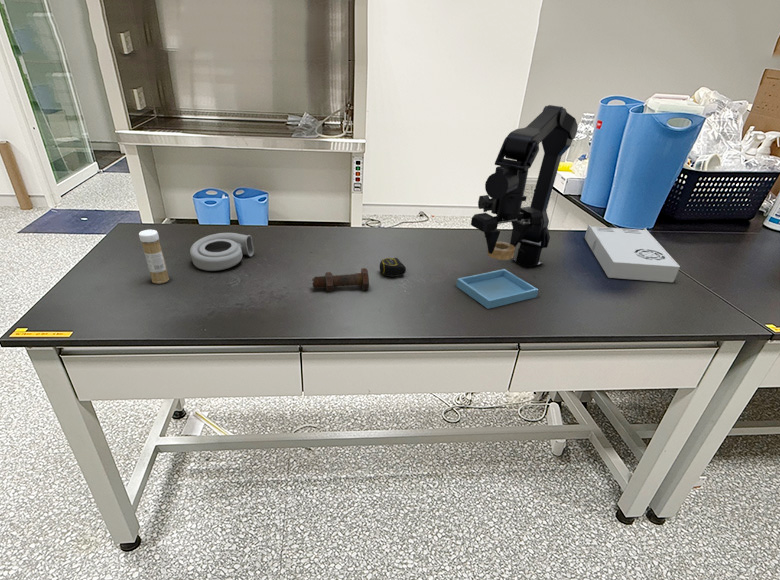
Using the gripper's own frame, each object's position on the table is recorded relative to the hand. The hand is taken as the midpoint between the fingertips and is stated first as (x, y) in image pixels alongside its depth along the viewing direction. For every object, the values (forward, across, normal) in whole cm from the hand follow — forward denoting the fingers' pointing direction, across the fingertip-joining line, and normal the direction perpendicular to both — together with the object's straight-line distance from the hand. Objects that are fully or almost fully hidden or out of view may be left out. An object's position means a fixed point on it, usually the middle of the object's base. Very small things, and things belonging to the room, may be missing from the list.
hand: (501, 251), depth 133 cm
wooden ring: (+1, 0, 0) cm, 1 cm away
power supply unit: (+11, -53, 0) cm, 54 cm away
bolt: (+11, +39, -17) cm, 44 cm away
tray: (+11, +1, +2) cm, 11 cm away
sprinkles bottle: (+11, +82, -41) cm, 93 cm away
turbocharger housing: (+11, +64, -48) cm, 81 cm away
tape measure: (+11, +21, -20) cm, 31 cm away
